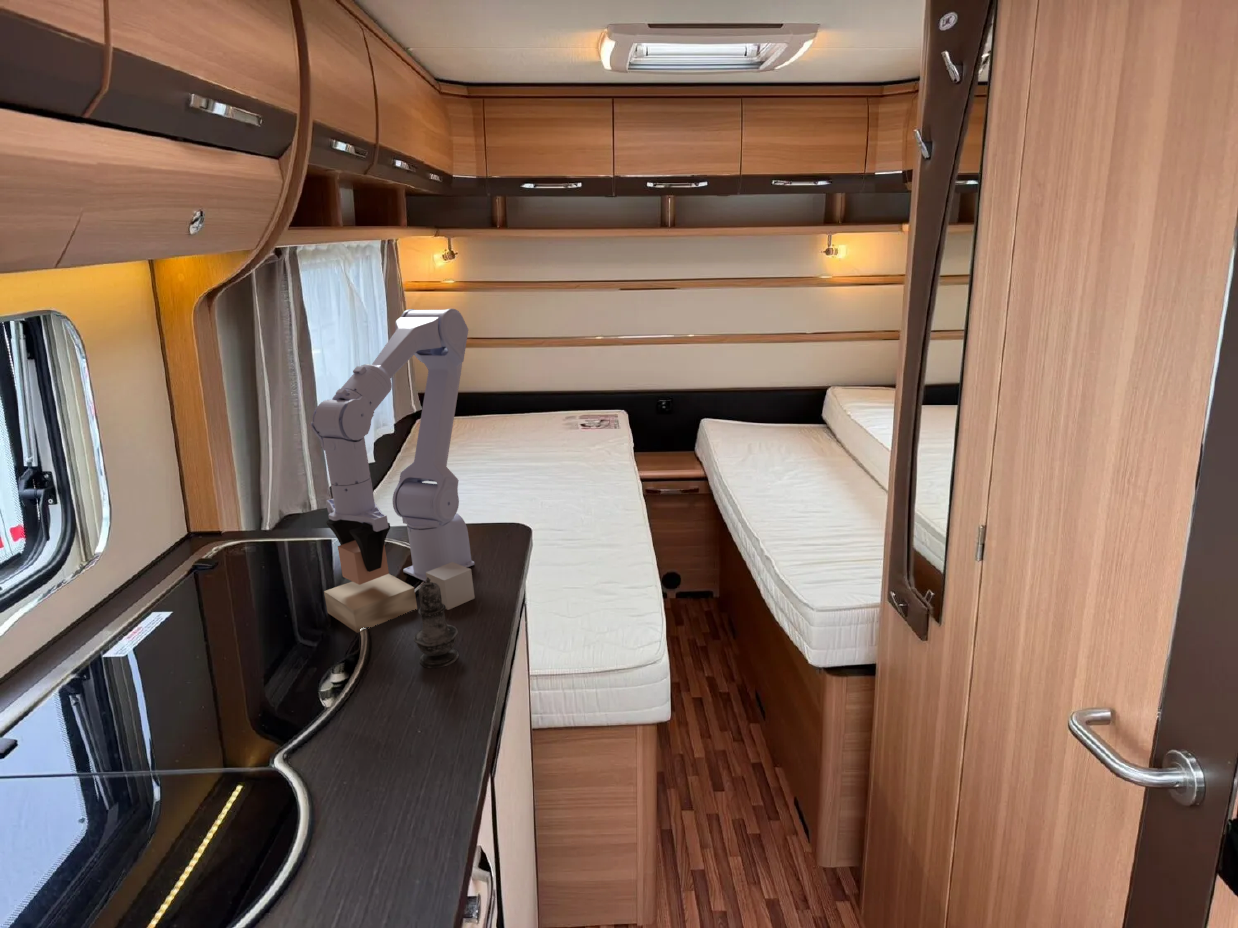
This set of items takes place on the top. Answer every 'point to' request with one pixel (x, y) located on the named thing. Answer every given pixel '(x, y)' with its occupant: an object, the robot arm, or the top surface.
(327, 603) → the birch block
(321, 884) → the top surface
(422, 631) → the dark tall tiered piece
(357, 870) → the top surface
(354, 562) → the terracotta cube
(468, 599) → the grey cube
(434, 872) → the top surface
